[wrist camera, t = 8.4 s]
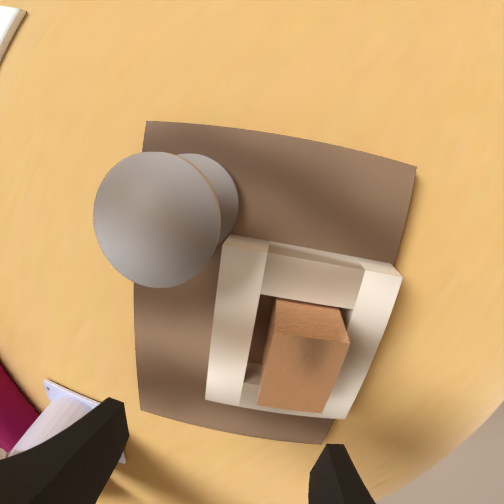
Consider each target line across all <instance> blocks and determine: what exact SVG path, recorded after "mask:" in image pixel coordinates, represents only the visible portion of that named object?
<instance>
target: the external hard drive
mask: <svg viewBox="0 0 504 504" xmlns="http://www.w3.org/2000/svg"><path fill="white" fill-rule="evenodd" d="M25 14H26V11H24V10H21V9H17V8H12V7H7V6H1V5H0V61H1V59H2V57H3V55H4V53H5V51H6V49H7V47H8V45H9V43H10V41H11V39H12V37H13V35H14V33H15V31H16V30H17V28H18V26H19V24H20V23H21V21H22V19H23V17H24V16H25Z"/></svg>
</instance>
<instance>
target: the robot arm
mask: <svg viewBox="0 0 504 504" xmlns="http://www.w3.org/2000/svg"><path fill="white" fill-rule="evenodd" d="M43 383H44V386H45V389H46V392H47V395H48V398H49V401H50V404H49V405H48V406H47V407H46V408H45V410H44V411H43V412H42V413H41V414H40V416H39V417H38V418H37V419H36V420H35V422H34V423H33V424H32V425H31V427H30V428H29V429H28V430H27V431H26V433H25V434H24V435H23V436H22V438H21V439H20V440H19V441H18V443H17V444H16V445H15V446H14V448H13V449H12V450H11V451H10V452H8V453H6V451H5V450H4V449H3V448H0V504H95V503H96V501H97V499H98V497H99V495H100V493H101V492H102V490H103V488H104V486H105V485H106V483H107V481H108V479H109V478H110V476H111V474H112V472H113V470H114V469H115V467H116V465H117V463H118V462H119V463H122V464H125V463H126V458H125V454H124V448H125V446H126V443H127V440H128V438H129V431H128V426H127V420H126V414H125V407H124V403H123V402H121V401H118V400H115V399H112V398H110V397H109V398H107V399H105V400H104V401H103V402H101V403H99V402H97V401H94V400H92V399H89V398H87V397H85V396H82V395H80V394H78V393H76V392H73V391H71V390H69V389H67V388H65V387H62V386H60V385H58V384H56V383H54V382H52V381H50V380H48V379H45V380H44V382H43ZM308 499H309V504H376V503H375V502H374V500H373V498H372V497H371V495H370V494H369V492H368V490H367V488H366V487H365V485H364V483H363V482H362V480H361V478H360V476H359V474H358V472H357V470H356V468H355V466H354V464H353V462H352V460H351V458H350V456H349V454H348V452H347V450H346V448H345V446H344V445H343V444H326V446H325V448H324V450H323V451H322V453H321V455H320V456H319V458H318V460H317V462H316V463H315V465H314V467H313V468H312V470H311V472H310V479H309V493H308Z"/></svg>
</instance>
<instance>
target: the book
mask: <svg viewBox="0 0 504 504" xmlns="http://www.w3.org/2000/svg"><path fill="white" fill-rule="evenodd" d="M39 416H40V414H39V413H38V412H37V411H36V409H35V408H34V407H33V406H32V405H31V403H30V402H29V401H28V400H27V398H26V397H25V396H24V395H23V393H22V392H21V391H20V390H19V388H18V387H17V386H16V384H15V383H14V382H13V380H12V379H11V378H10V376H9V375H8V373H7V372H6V371H5V369H4V368H3V366H2V365H1V363H0V448H3V449H4V450H5V451H6V453H8V452H10V451H11V450H12V449H13V448H14V446H15V445H16V444H17V443H18V441H19V440H20V439H21V438H22V436H23V435H24V434H25V433H26V431H27V430H28V429H29V428H30V427H31V425H32V424H33V423H34V422H35V420H36V419H37V418H38V417H39Z"/></svg>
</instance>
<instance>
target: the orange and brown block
mask: <svg viewBox="0 0 504 504" xmlns="http://www.w3.org/2000/svg"><path fill="white" fill-rule="evenodd" d="M349 346H350V341H349V338H348V335H347V332H346V329H345V325H344V322H343V319H342V316H341V313H340V310H339V307H335V306H328V305H322V304H316V303H310V302H304V301H298V300H292V299H286V298H280V297H274V302H273V307H272V311H271V316H270V321H269V326H268V330H267V335H266V339H265V344H264V352H263V360H262V368H261V375H260V383H259V391H258V398H257V405H259V406H265V407H272V408H279V409H286V410H294V411H302V412H312V413H322V412H323V410H324V408H325V405H326V403H327V401H328V399H329V396H330V394H331V391H332V389H333V387H334V384H335V382H336V379H337V377H338V374H339V372H340V369H341V367H342V364H343V362H344V359H345V356H346V354H347V351H348V348H349Z"/></svg>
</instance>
